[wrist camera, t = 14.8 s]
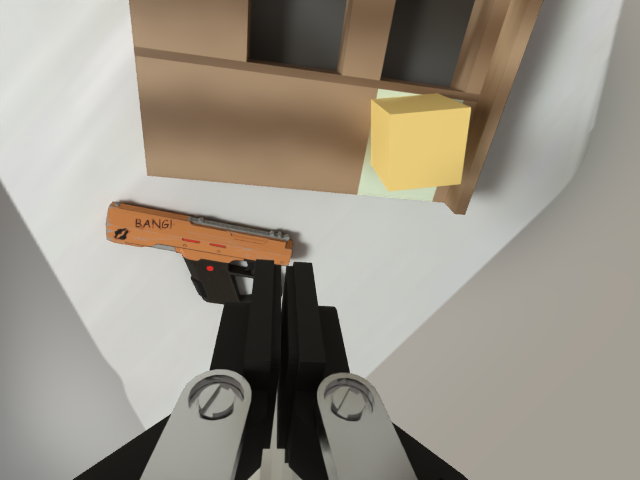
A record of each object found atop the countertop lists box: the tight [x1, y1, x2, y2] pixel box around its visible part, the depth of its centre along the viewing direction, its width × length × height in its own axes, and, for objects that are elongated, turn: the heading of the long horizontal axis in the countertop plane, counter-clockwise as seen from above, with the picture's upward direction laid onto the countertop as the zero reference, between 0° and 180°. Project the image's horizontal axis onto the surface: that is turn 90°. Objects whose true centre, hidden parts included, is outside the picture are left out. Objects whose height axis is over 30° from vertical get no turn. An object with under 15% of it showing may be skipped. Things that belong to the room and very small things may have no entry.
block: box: [371, 93, 471, 191], centre depth 23 cm, size 4×4×5 cm
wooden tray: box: [129, 0, 543, 215], centre depth 24 cm, size 15×23×5 cm, turn 82°
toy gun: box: [106, 201, 292, 304], centre depth 32 cm, size 15×2×10 cm
